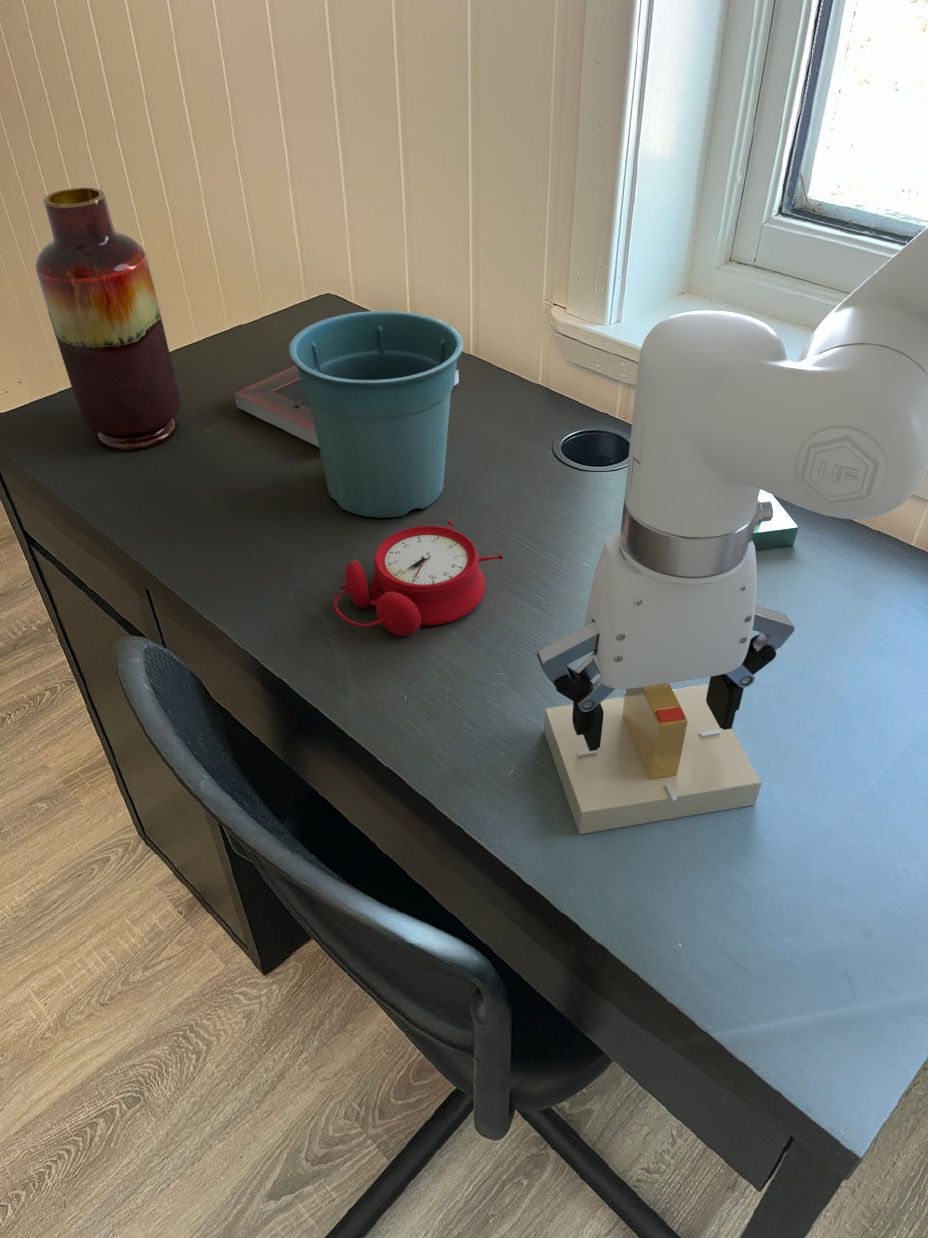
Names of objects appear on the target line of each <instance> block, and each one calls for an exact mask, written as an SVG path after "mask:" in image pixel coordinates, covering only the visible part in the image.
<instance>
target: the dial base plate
mask: <svg viewBox="0 0 928 1238" xmlns="http://www.w3.org/2000/svg"><path fill="white" fill-rule="evenodd" d="M708 687H709V684H699V685H692V686H686V687H680V688H674V689H673V688H672V690H673V692H674V694H675V696H676V698H677V700H678V702H679V704H680V706H681V708H682V710H683V712H684V714H685V716H686V718H687V720H688V723H687V728H686V733H685V738H684V743H683V748H682V753H681V758H680V763H679V768H678V773H677V775H674V776H667V777H661V778H654V779H650V777H649V775H648V772H647V770H646V768H645V765H644V763H643V761H642V758H641V756H640V753H639V751H638V749H637V746H636V744H635V742H634V739H633V737H632V734H631V732H630V730H629V727H628V725H627V723H626V720H625V718H624V715H623V707H624V699H625V692H626V690H624V691H623V695H624V696H619V697H612V698H605V699H604V700H603V701H602V702H601V703H600V704H601V706H602V709H603V713H604V715H603V725H602V734H601V743H600V748H598V750H595V751H589V749H588V746H587V743H586V741H585V738H584V736H583V735H577V734H576V732H575V729H574V726H573V720H572V715H573V703H572V704H566V705H565V704H564V705H560V706H559V705H557V706H552V707H545V708H544V716H543V717H544V718H543V732H544V736H545V738H546V741H547V744H548V748H549V750H550V753H551V756H552V759H553V762H554V765H555V768H556V771H557V774H558V777H559V779H560V782H561V786H562V788H563V791H564V794H565V797H566V800H567V803H568V806H569V808H570V811H571V814H572V816H573V821H574V824H575V826H576V829H577V832H578V835H583V834H590V833H595V832H601V831H607V830H614V829H620V828H626V827H632V826H637V825H643V824H650V823H655V822H656V823H657V822H663V821H668V820H673V819H680V818H685V817H692V816H698V815H703V814H709V813H710V814H711V813H714V812H715V813H716V812H721V811H727V810H733V809H739V808H745V807H751V806H755V805H756V804H757V800H758V797H759V793H760V790H761V786H762V780H761V778H760V777H759V775H758V773H757V771H756V770H755V768H754V766H753V764H752V763H751V761H750V759H749V757H748V755H747V753H746V751H745V750H744V748H743V746H742V744H741V743H740V741H739V739H738V737H737V735H736V734H735V731H734V730H733V728H732V729H727V730H723V729H722V728H720V727H719V725H718V723H717V721H716V720H715V718H714V716H713V714H712V712H711V710H710V708H709V707H708V705H707V702H706V696H707V692H708Z"/></svg>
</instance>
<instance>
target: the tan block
mask: <svg viewBox="0 0 928 1238" xmlns="http://www.w3.org/2000/svg"><path fill="white" fill-rule="evenodd" d="M672 689H673V688H672V685H671V683H667V684H660V685H653V686H646V687H638V688H629V689H625V691H626V692H625V695H624V697H625V699H624V707H623V715H624V718H625V720H626V723H627V725H628V727H629V730H630V732H631V734H632V737H633V739H634V742H635V744H636V746H637V749H638V751H639V753H640V756H641V758H642V761H643V763H644V765H645V768H646V770H647V772H648V775H649V777H650V779H654V778H661V777H667V776H674V775H677V773H678V768H679V763H680V758H681V753H682V748H683V743H684V738H685V733H686V728H687V723H688V720H687V718H686V716H685V714H684V712H683V710H682V708H681V706H680V704H679V702H678V700H677V698H676V696H675V694H674V692H673V690H672Z"/></svg>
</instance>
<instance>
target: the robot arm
mask: <svg viewBox="0 0 928 1238" xmlns="http://www.w3.org/2000/svg"><path fill="white" fill-rule="evenodd" d="M648 332H649V333H647V335H646V336H645V338H644V340H643V343H642V345H641V348H640V352H639V358H638V364H637V371H636V372H637V374H636V382H635V384H636V385H635V393H634V400H633V401H634V402H633V412H632V420H631V421H632V422H631V430H630V441H629V450H628V458H627V459H628V460H627V469H626V479H625V489H624V498H623V507H622V516H621V526H620V530H619V531H615V532H612V533H610V534H609V535H608V537H607V538H606V540H605V542H604V545H603V548H602V550H601V552H600V555H599V558H598V562H597V565H596V568H595V571H594V575H593V579H592V583H591V588H590V592H589V597H588V601H587V607H586V613H585V619H584V626H581V627H579V628H577V629H576V630H574V631H572V632H570V633H569V634H567V635H565V636H563V637H561V638H559V639H557V640H554V641H553V642H551V643H549V644H548V645H545V646H544V647H542V648H540V649H539V650H538V651H537V652H536V656H537V659H538V662H539V665H540V667H541V670H542V671H543V673H544V674H545V675H546V677H547V678H548V679H549V681H550V682H551V683H552V684H553V686H554V688H555V689H556V692H557V693H559V694H560V695H562V696H564V697H566V698H567V699H569V700H570V701H572V702H573V703H572V704H573V715H572V720H573V726H574V729H575V732H576V734H577V735H583V736H584V738H585V741H586V743H587V746H588V749H589V751H595V750H598V748H600V743H601V734H602V725H603V715H604V713H603V709H602V706H601V704H600V703H601V702H602V701H603V700H605V699H607V698H608V697H609V695H610V694H612V693H613V691H615V690H616V689H617V690H618V689H619V690H626V689H629V688H638V687H646V686H653V685H660V684H667V683H669V684H673V683H679V682H686V681H691V680H692V681H693V680H698V679H705V678H709V683H708V686H709V687H708V692H707V696H706V702H707V705H708V707H709V708H710V710H711V712H712V714H713V716H714V718H715V720H716V721H717V723H718V725H719V727H720V728H722V729H723V730H727V729H732V730H733V726H734V721H735V718H736V717H735V716H736V713H737V711H739V709H740V707H741V702H742V697H743V695H744V689H745V688H748V687H750V686H752V685H753V684H754V683H755V680H756V677H755V676H754V675H755V674H756V673H758V672H759V671H760V670H762V669H764V667H766V666H767V665H768V664H770V663H772V661H773V660H774V659H775V658H777V652H776V651H777V650H778V649H780V648H782V646H783V645H784V644H785V643H786V642H787V640H788V639H789V638H790V637H791V636H792V634H793V633H794V632H795V629H796V628H795V626H794V625H793V623H792V622H791V620H790V618H789V617H788V616H787V614H785V613H782V612H779V611H776V610H773V609H770V608H766V607H764V606H760V605H757V593H758V592H757V590H758V589H757V588H758V571H757V555H756V552H757V551H755V546H754V543H753V541H752V536H753V532H754V527H755V526H756V525H760V524H761V522H768V521H771V520H772V518H773V514H774V510H773V505H772V503H771V501H770V500H768V499H766V500H758V498H759V493H760V490H762V491H765V492H767V493H769V494H772V495H773V496H774V497H776V498H778V499H781V500H784V501H785V502H788V503H789V504H791V505H794V506H796V507H800V508H801V509H804V510H807V511H809V512H810V511H811V512H814V513H816V514H819V515H822V516H825V517H831V518H836V519H837V518H838V519H843V520H844V519H845V520H863V519H870V518H876V517H879V516H883V515H884V514H887V513H890V512H891V511H893V510H894V509H897V508H899V507H900V506H901V505H903V504H904V503H905V502H906V501H907V500H909V499H910V498H911V497H912V496H913V494H914V493H915V492H916V491H917V490H918V489H919V488H920V485H921V484H922V483H923V480H924V479H925V476H926V474H927V472H928V226H926V227H925V228H924V229H923V230H921V231H920V232H919V233H918V234H917V235H916V236H915V237H913V238H912V239H911V240H909V242H908V243H906V244H905V245H904V246H903V247H902V248H901V249H899V251H897V252H896V253H895V254H893V256H891V258H889V259H888V260H887V261H886V262H884V263H883V264H882V265H881V266H880V267H879V268H878V269H877V270H876V271H875V272H874V273H872V274H871V275H870V276H869V277H868V278H866V280H864V281H863V282H862V283H861V284H860V285H859V286H857V287H856V288H855V289H854V290H853V291H852V292H851V293H850V294H848V296H847V297H845V298H844V299H843V300H842V301H840V303H839V304H837V306H836V307H835V308H834V309H833V310H832V311H830V313H828V315H826V316H825V318H823V320H822V321H821V323H820V324H818V326H817V327H816V328H815V330H814V331H813V333H812V334H811V335H810V337H809V338H808V340H807V342H806V343H805V346H804V347H803V349H802V351H801V353H800V355H799V357H798V359H797V361H792V360H790V359H789V358H788V356H787V352H786V347H785V345H784V343H783V340H782V339H781V337H780V336H779V334H778V333H777V332H776V331H775V330H774V329H772V327H770V326H769V325H767V324H766V323H764V322H762V321H760V320H759V319H756V318H754V317H751V316H747V315H744V314H741V313H736V312H730V311H722V310H696V311H695V310H694V311H687V312H682V313H678V314H674V315H671V316H669V317H668V318H665V319H663V320H662V321H659V322H658V323H657V324H656V325H654V326H653V328H652V329H651V330H650V331H648ZM753 632H758V634H756V635H754V636H752V634H753ZM589 654H590V655H589ZM587 655H589V656H588V657H587V658H586V659H585V660H584V661H583V662H582V663H581V664H580V665H579V666H578V667H576V669H573V668H571V667H570V666H568V665H569V664H571V663H574V662H576V661H577V660H579V659H581V658H583V657H585V656H587ZM597 675H599V678H598V679H597V680H596V681H595V682H594V683H593V681H592V680H593V679H594V678H595V677H596V676H597Z"/></svg>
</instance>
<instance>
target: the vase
mask: <svg viewBox="0 0 928 1238" xmlns="http://www.w3.org/2000/svg"><path fill="white" fill-rule="evenodd" d="M43 205H44V209H45V212H46V216H47V220H48V223H49V228H50V231H51V235H52V240H51V241H50V242H49V243H47V244H46V245H45V246H44V247H42V249H41V250H40V252H39V253H38V255H37V257H36V260H35V264H34V265H35V273H36V276H37V279H38V284H39V287H40V291H41V293H42V297H43V300H44V303H45V307H46V310H47V312H48V317H49V319H50V322H51V326H52V329H53V332H54V335H55V338H56V339H55V340H56V342H57V345H58V349H59V351H60V354H61V358H62V360H63V364H64V367H65V370H66V373H67V376H68V380H69V383H70V386H71V389H72V392H73V396H74V399H75V402H76V405H77V408H78V410H79V414H80V416H81V419H82V422H83V424H84V425H85V426H86V427H87V428H88V429H90V430H91V431H94V432H95V433H96V439H97V441H98V443H99V444H100V445H101V446H102V447H104V448H106V449H108V450H111V451H117V452H136V451H137V452H138V451H142V450H147V449H151V448H154V447H156V446H159V445H161V444H163V443H165V442H167V441H168V440H170V439H171V438H172V437H173V436H174V435H175V434H176V432H177V429H178V423H177V420H176V418H175V417H176V416H177V415H178V413H179V411H180V408H181V399H180V394H179V390H178V384H177V379H176V376H175V371H174V366H173V362H172V358H171V354H170V349H169V344H168V340H167V336H166V332H165V331H166V330H165V328H164V327H165V326H164V323H163V322H164V321H163V319H162V315H161V314H162V313H161V310H160V306H159V305H160V304H159V302H158V297H157V293H156V288H155V284H154V280H153V276H152V271H151V268H150V264H149V259H148V256H147V253H146V251H145V250H144V248H143V246H141V244H140V243H138V242H137V241H136V240H135V239H133V238H132V237H130V236H129V235H127V234H125V233H121V232H118V231H116V230H115V227H114V224H113V219H112V216H111V213H110V212H111V211H110V209H109V205H108V202H107V197H106V195H105V192H104V191H103V190H101V189H98V188H94V187H72V188H66V189H61V190H56V191H54V192H51V193H49V194H47V195H46V196H45V197H44V198H43Z"/></svg>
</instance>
